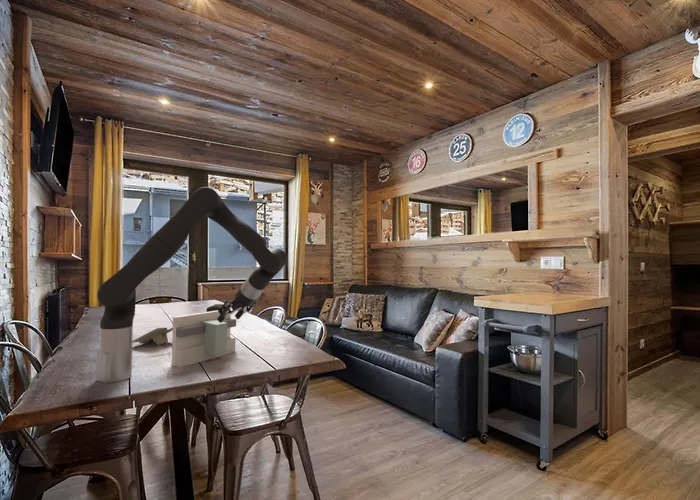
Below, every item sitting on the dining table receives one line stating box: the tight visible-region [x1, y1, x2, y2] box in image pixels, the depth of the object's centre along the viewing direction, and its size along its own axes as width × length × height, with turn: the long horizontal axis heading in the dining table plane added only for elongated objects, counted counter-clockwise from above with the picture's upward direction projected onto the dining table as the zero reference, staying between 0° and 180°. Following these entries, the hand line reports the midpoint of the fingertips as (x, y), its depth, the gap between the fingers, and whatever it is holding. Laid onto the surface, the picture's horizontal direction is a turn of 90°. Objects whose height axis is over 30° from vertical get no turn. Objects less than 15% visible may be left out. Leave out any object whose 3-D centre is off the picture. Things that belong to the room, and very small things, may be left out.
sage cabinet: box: [201, 319, 228, 356], centre depth 145 cm, size 6×9×12 cm, turn 60°
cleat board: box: [171, 308, 237, 368], centre depth 147 cm, size 26×6×18 cm, turn 150°
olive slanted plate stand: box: [132, 327, 173, 346], centre depth 167 cm, size 16×9×15 cm
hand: (228, 319), depth 141 cm, fingers open, 8 cm apart
